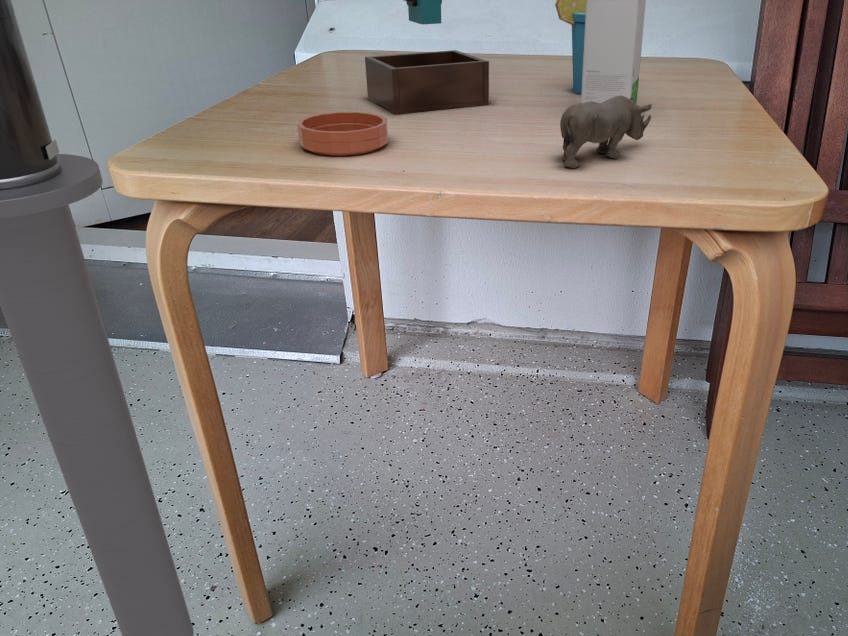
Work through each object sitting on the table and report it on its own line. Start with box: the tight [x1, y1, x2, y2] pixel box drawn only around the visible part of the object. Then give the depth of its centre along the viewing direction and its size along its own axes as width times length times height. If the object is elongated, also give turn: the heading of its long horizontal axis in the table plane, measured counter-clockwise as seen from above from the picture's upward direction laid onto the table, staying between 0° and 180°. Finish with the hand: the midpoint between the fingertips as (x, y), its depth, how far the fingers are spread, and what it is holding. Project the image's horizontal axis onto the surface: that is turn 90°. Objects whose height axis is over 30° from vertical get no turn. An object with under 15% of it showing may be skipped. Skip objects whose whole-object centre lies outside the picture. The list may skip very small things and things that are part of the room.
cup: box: [555, 0, 586, 95], centre depth 105 cm, size 14×8×15 cm, turn 119°
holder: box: [364, 49, 490, 115], centre depth 101 cm, size 14×11×6 cm
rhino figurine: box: [559, 96, 653, 169], centre depth 78 cm, size 4×14×6 cm, turn 129°
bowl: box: [296, 111, 389, 157], centre depth 82 cm, size 10×10×3 cm
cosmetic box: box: [580, 0, 647, 105], centre depth 92 cm, size 8×7×16 cm
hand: (424, 4), depth 96 cm, fingers closed on tea packet, 2 cm apart
